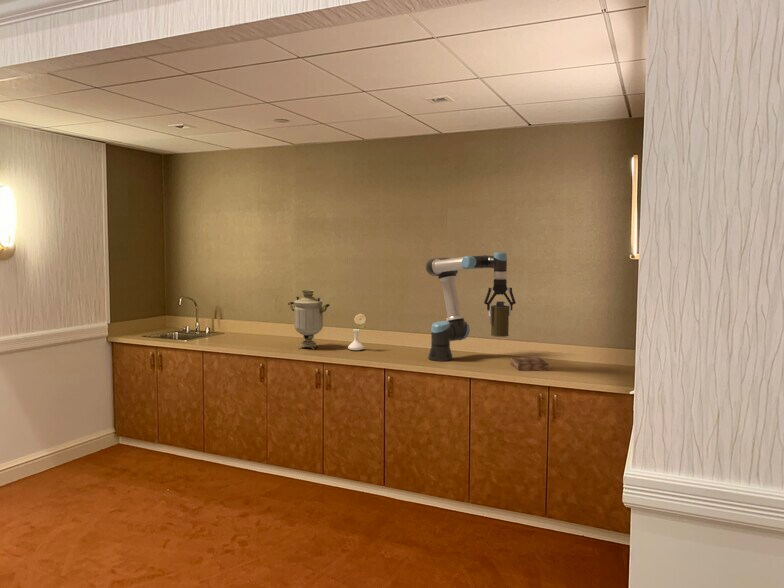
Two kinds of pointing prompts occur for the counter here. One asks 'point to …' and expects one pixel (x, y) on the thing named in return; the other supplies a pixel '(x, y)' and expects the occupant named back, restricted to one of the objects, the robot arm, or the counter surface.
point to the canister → (499, 320)
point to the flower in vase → (356, 344)
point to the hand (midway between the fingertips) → (499, 316)
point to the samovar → (308, 317)
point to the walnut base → (529, 364)
